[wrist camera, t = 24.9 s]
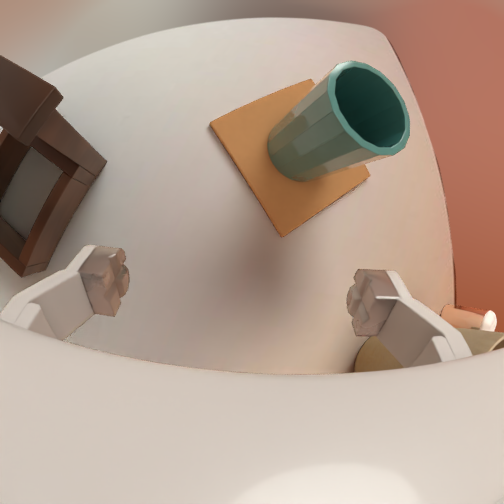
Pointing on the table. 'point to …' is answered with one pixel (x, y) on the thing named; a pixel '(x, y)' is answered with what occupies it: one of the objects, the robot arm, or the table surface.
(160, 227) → the table surface
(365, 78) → the cup
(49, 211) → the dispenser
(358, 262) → the table surface
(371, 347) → the plant pot
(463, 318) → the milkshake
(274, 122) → the mat
